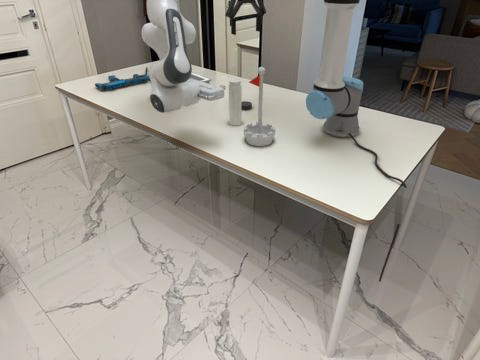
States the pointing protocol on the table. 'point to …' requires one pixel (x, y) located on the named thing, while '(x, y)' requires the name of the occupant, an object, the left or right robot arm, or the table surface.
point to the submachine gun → (121, 82)
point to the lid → (246, 105)
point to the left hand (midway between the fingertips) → (216, 84)
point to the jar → (235, 102)
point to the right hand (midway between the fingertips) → (246, 32)
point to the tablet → (198, 77)
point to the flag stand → (259, 119)
